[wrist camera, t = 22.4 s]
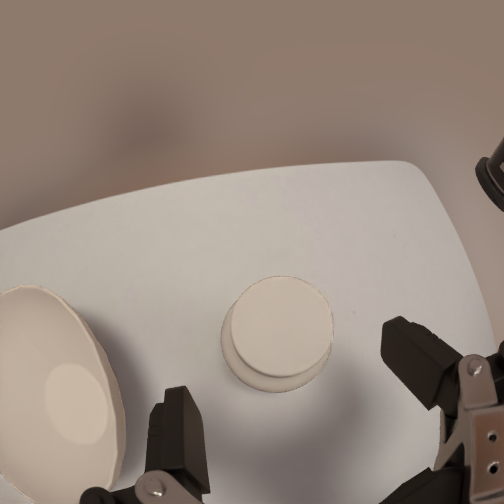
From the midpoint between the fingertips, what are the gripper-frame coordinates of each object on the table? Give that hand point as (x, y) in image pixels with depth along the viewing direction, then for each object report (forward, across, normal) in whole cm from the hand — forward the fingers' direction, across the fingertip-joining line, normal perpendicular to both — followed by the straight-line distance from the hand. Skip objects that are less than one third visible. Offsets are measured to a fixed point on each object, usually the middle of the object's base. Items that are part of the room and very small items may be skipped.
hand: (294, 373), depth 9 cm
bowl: (+7, -17, -6) cm, 19 cm away
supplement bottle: (+8, 0, -5) cm, 10 cm away
